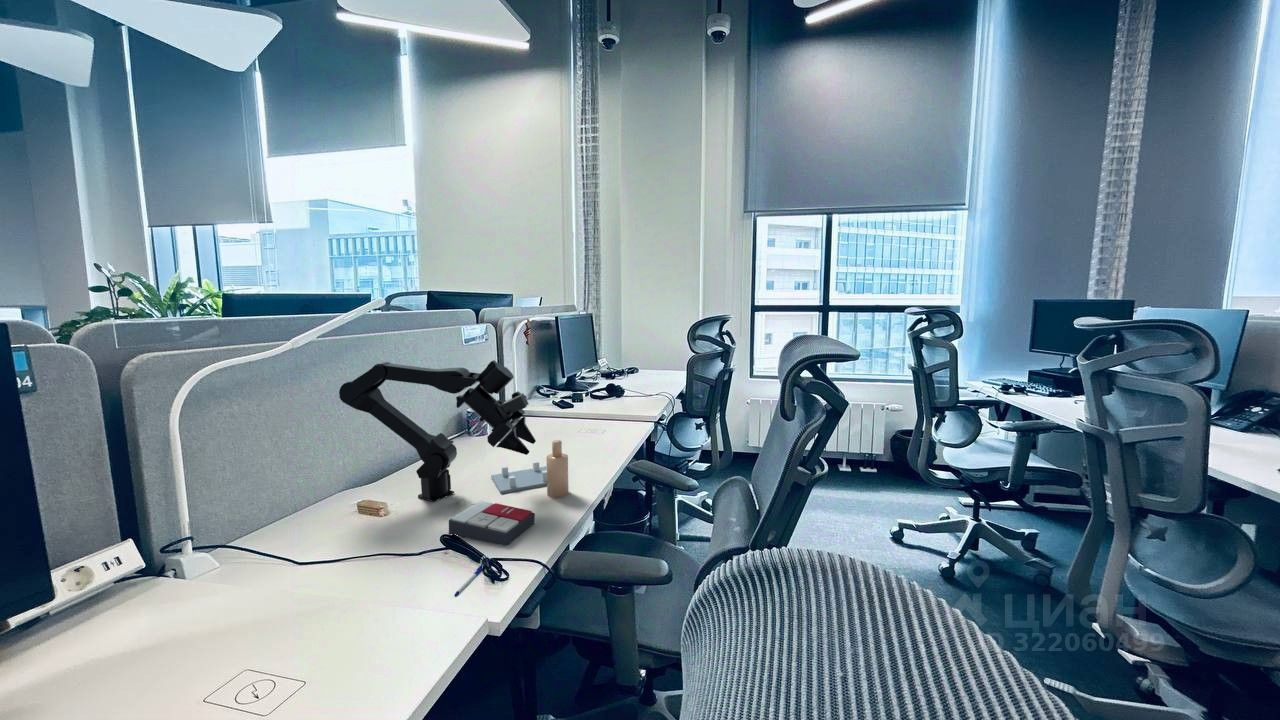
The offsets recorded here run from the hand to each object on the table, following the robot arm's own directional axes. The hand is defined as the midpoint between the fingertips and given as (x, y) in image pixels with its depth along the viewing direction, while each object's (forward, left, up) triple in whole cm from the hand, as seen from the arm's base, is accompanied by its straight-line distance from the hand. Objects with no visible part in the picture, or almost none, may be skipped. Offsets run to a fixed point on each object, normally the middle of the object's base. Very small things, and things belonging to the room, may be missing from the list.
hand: (531, 447), depth 128 cm
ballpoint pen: (-36, -17, -13) cm, 41 cm away
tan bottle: (+3, -5, -12) cm, 14 cm away
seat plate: (+6, +9, -12) cm, 16 cm away
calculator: (-19, -5, -13) cm, 24 cm away
